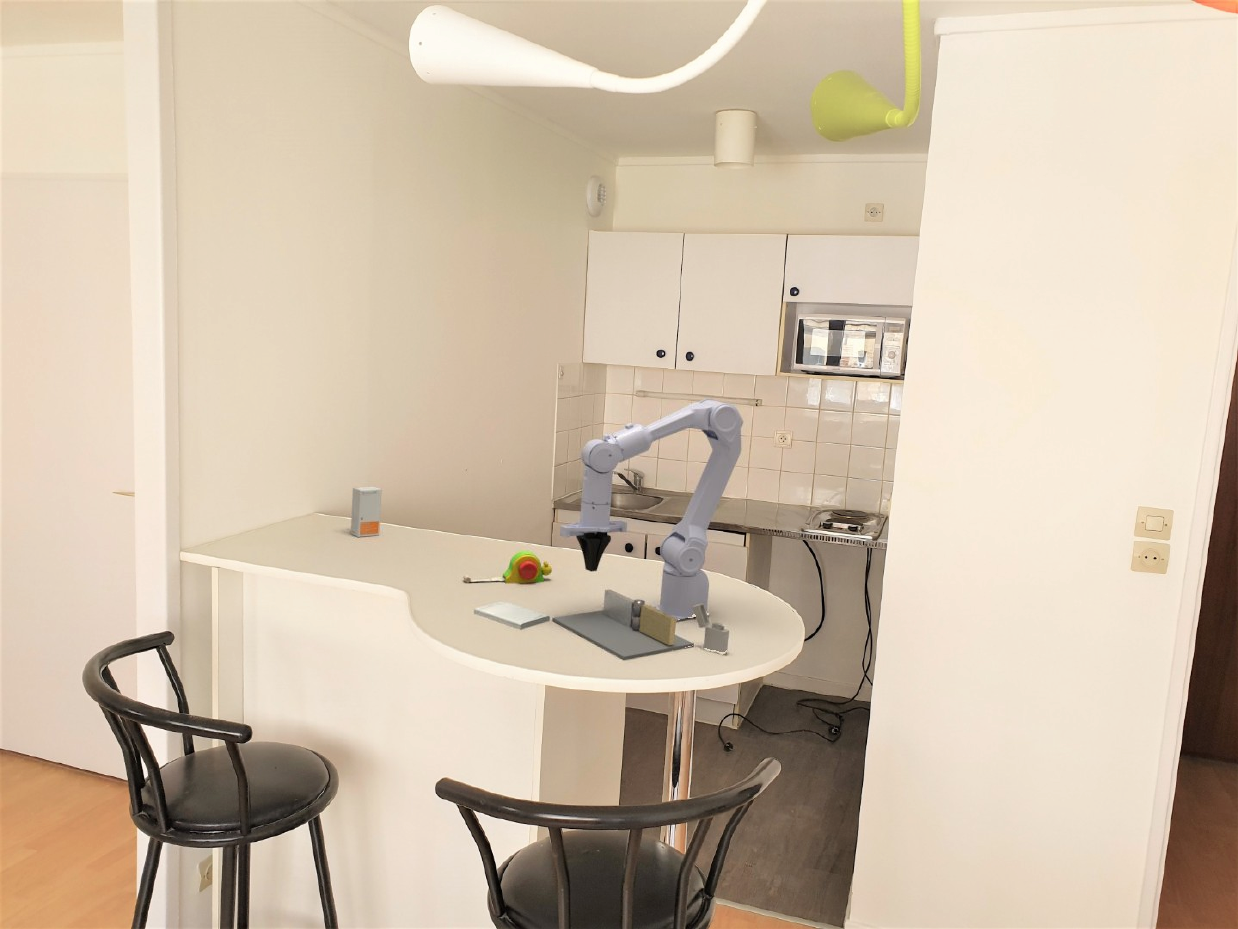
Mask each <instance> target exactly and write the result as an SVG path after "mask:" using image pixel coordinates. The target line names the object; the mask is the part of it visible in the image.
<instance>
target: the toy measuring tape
mask: <svg viewBox="0 0 1238 929" xmlns="http://www.w3.org/2000/svg"><path fill="white" fill-rule="evenodd" d="M542 564H543V565H542ZM542 564H541V561H540V559H539V558H538V556H536V554H534V552H531V551H529V550H521V551H518V552H517V553H515V554H514V555H513V556H512V557H511V558H510V561H509V566H508V567H507V569H506V570H505V572H503V574H502V577H501V576H496V577H491V578H484V579H472V578H471V576H470V575H468V574H464V575H463V577H462V578H463V580H464V581H465V583H467V584H469V583H470V582H471V583H474V582H487V583H489V582H504V583H505V584H529V583H544V582H545V578H544V576H549V575H551V574H552V570H553V569H552V566H551V565H549V563H548V562H547V561H546V560H544V561H543V563H542Z"/></svg>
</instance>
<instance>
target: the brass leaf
mask: <svg viewBox="0 0 1238 929" xmlns="http://www.w3.org/2000/svg"><path fill="white" fill-rule="evenodd" d="M633 600H634V608H633V615H634V616H637V617H640V629H639V631H640V632H643V633H645V634H647V635H649V636H651V637H653V638H655V639H657V640H659V641H661V642H663V643H665V644H667V645H674V638H675V635H676V627H677V626H676V625H677V621H676V617H673V616H671V615H669V614H667V613H664V612H662V611H660V610H658V609H655V608H653V607H654V606H650V605H648V604H646V603H645V600H643V599H633Z"/></svg>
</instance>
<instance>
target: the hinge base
mask: <svg viewBox="0 0 1238 929" xmlns="http://www.w3.org/2000/svg"><path fill="white" fill-rule="evenodd" d="M603 598H604V600H603V610H596V611H588V612H583V613H574V614H569V615H562V616H554V617H552V618H551V621H552V622H554V623H556V624H557V625H559V626H561V627H562V628H564V629H565V630H566V629H567V631H568V630H569V631H571V633H574V634H576V635H577V636H579V637H581V638H583V639H584V640H586V641H588V642H590V643H592V644H594V645H596V646H597V647H599V648H601V649H602V650H605V651H607V652H609V653H610V654H612V655H614V656H616V657H618V658H619V659H621V660H622V661H625V660H626V661H627V660H630V659H637V658H642V657H648V656H650V655H651V656H652V655H658V654H661V653H666V652H672V650H673V651H677V650H683V649H682V648H684V649H686V648H685V647H688V646H692V645H693V646H694V643H693V642H692V641H690V640H687V639H685V638H684V637H681V636H679V635H676V634H675V638H674V645H667V644H665V643H663V642H661V641H659V640H657V639H655V638H653V637H651V636H649V635H647V634H645V633H643V632H640V631H639V629H640V617H637V616H634V615H633V608H634V600H635V599H632V598H631V597H628V596H626V595H623V594H621V593H619V592H616V591H614V590H613V589H609V588H608V589H604V597H603Z"/></svg>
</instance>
